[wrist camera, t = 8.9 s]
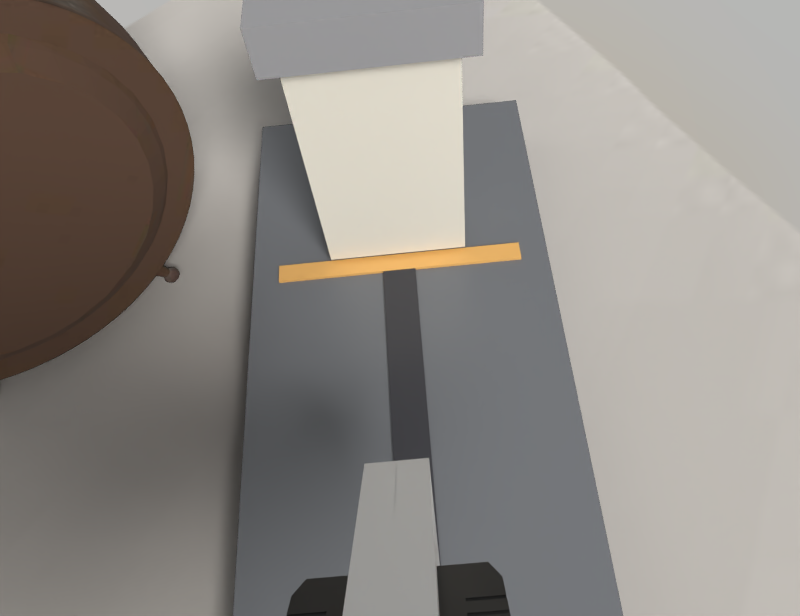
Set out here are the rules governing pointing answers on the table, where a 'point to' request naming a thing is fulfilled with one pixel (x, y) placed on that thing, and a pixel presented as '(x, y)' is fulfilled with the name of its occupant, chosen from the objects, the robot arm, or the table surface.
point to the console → (417, 391)
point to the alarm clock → (81, 176)
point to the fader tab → (374, 112)
